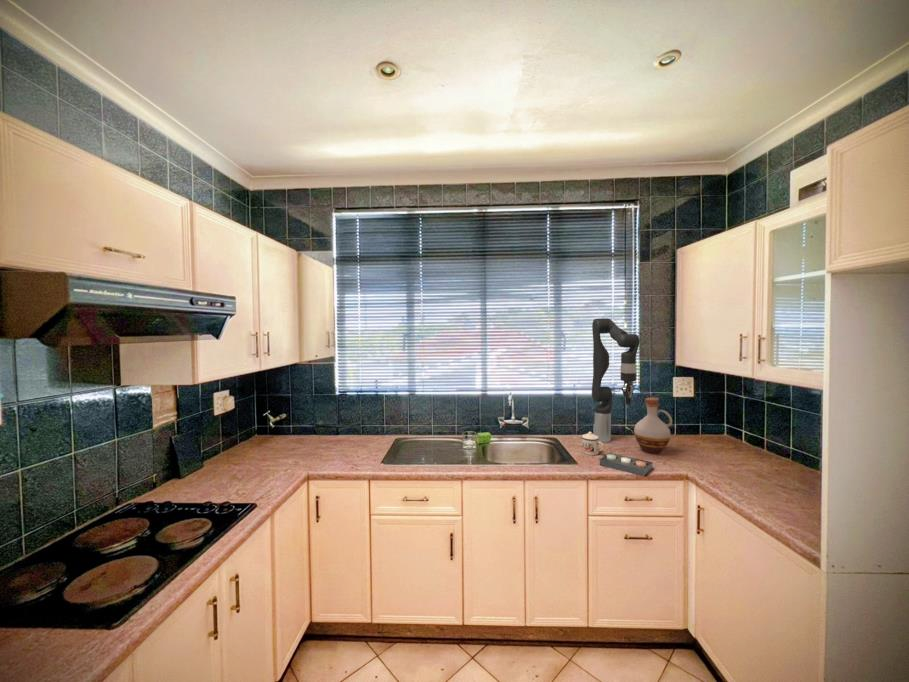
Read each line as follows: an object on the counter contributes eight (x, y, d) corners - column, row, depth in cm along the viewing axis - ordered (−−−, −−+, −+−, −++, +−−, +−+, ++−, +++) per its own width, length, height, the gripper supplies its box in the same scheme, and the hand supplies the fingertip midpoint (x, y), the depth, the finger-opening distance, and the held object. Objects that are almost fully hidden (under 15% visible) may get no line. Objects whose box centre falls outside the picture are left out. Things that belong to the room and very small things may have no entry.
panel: (599, 465, 182) (599, 459, 182) (609, 458, 191) (609, 452, 191) (644, 476, 167) (644, 470, 167) (652, 468, 177) (652, 462, 176)
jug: (664, 446, 208) (664, 395, 207) (680, 457, 190) (680, 401, 189) (629, 445, 210) (629, 395, 209) (641, 456, 192) (642, 401, 191)
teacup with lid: (578, 452, 200) (578, 432, 199) (585, 448, 206) (585, 428, 206) (600, 458, 191) (600, 436, 191) (606, 453, 198) (606, 432, 197)
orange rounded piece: (634, 469, 174) (634, 462, 174) (637, 466, 177) (637, 459, 177) (644, 471, 171) (644, 464, 171) (647, 469, 174) (647, 462, 174)
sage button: (605, 462, 184) (605, 455, 184) (608, 460, 187) (608, 453, 187) (614, 464, 181) (614, 457, 181) (617, 462, 184) (617, 455, 184)
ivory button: (619, 465, 179) (619, 458, 179) (622, 463, 182) (622, 456, 182) (628, 468, 176) (628, 461, 176) (631, 465, 179) (631, 458, 179)
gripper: (625, 370, 196) (625, 401, 197) (616, 372, 187) (616, 405, 187) (639, 371, 191) (639, 403, 192) (631, 373, 182) (631, 407, 182)
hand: (628, 404), depth 190 cm, fingers closed
